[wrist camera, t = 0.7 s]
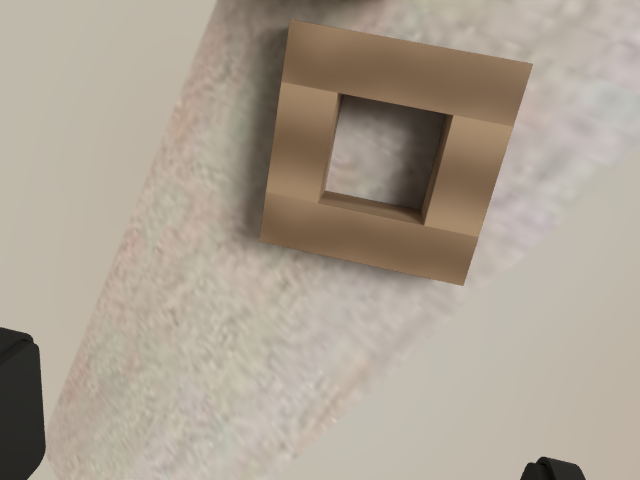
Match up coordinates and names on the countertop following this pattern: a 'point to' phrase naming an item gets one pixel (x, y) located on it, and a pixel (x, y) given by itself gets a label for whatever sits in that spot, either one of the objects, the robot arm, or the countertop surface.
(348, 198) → the socket block
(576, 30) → the countertop surface
